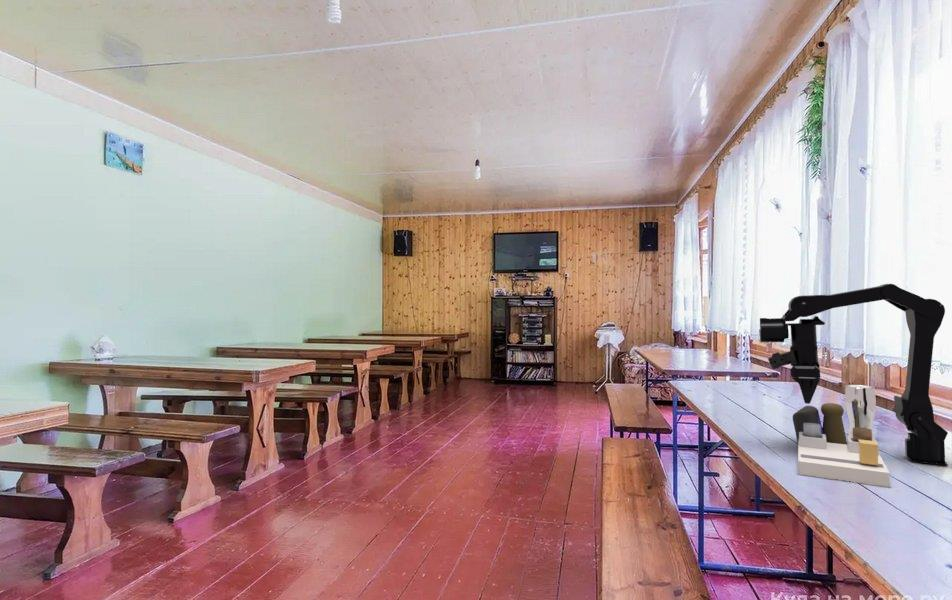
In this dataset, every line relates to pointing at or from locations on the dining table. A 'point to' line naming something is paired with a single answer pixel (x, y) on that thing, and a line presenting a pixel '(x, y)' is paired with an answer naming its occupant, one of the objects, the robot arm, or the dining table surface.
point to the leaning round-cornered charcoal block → (805, 418)
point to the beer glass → (860, 407)
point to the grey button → (812, 430)
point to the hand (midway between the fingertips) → (807, 400)
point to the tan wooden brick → (868, 452)
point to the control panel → (838, 461)
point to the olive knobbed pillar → (833, 423)
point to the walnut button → (862, 434)
